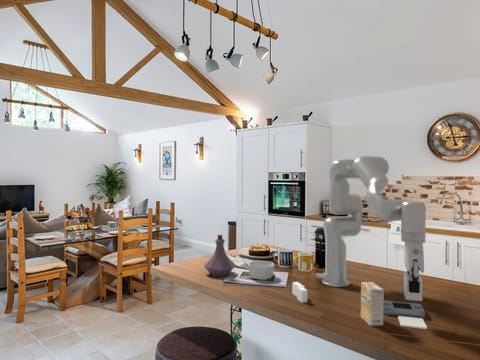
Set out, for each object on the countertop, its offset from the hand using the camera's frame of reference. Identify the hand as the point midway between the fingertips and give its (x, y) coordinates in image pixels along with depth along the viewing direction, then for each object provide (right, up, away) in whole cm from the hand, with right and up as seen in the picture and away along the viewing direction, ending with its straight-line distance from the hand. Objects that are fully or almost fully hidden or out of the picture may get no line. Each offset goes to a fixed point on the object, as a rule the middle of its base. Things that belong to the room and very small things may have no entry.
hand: (412, 289), depth 124 cm
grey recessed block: (+1, -12, +10) cm, 16 cm away
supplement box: (-13, -12, +2) cm, 18 cm away
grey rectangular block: (0, -3, 0) cm, 3 cm away
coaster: (0, -12, 0) cm, 12 cm away
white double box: (-35, -12, +27) cm, 46 cm away
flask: (-70, -11, +63) cm, 95 cm away
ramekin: (-49, -12, +57) cm, 76 cm away
